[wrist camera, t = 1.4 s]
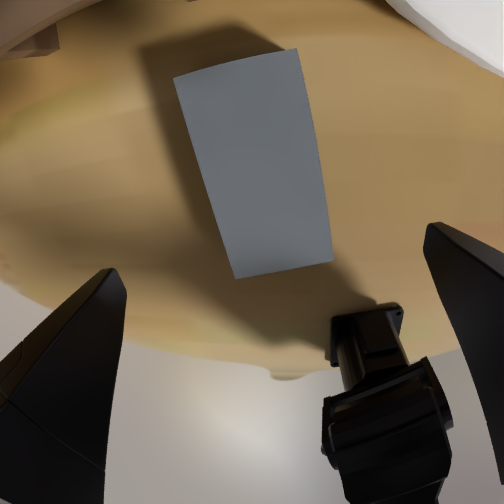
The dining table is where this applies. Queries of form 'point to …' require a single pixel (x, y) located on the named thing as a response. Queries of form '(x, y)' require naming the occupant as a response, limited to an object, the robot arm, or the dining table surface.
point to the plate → (461, 27)
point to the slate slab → (259, 161)
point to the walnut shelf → (34, 25)
